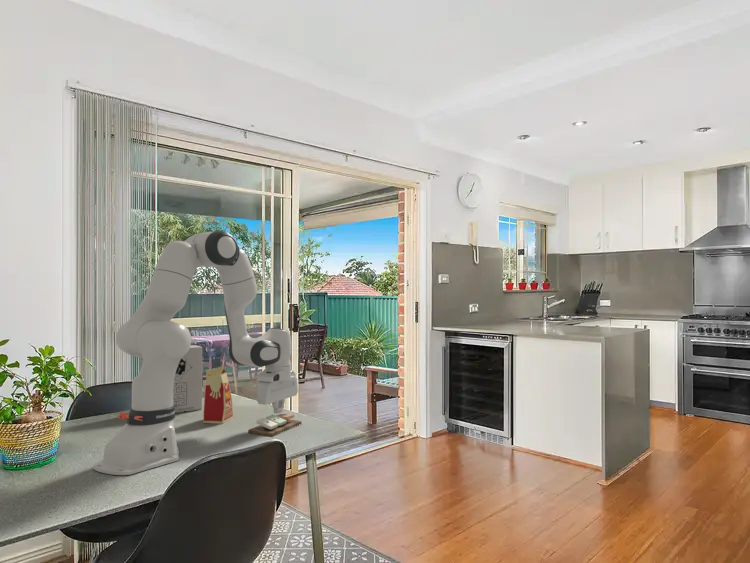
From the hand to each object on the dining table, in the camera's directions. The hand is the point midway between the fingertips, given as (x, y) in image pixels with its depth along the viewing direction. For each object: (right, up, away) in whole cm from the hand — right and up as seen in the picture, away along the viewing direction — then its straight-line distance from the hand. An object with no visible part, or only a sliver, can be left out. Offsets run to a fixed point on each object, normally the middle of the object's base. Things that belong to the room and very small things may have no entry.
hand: (278, 412), depth 184 cm
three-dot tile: (+2, -2, -1) cm, 3 cm away
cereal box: (-45, -5, +20) cm, 50 cm away
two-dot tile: (0, -2, -5) cm, 5 cm away
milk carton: (-23, -4, +6) cm, 25 cm away
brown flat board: (0, -4, -5) cm, 7 cm away
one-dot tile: (-2, -2, -10) cm, 10 cm away
